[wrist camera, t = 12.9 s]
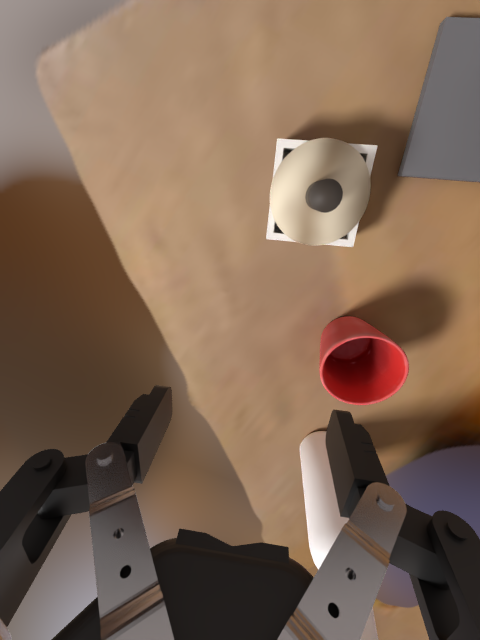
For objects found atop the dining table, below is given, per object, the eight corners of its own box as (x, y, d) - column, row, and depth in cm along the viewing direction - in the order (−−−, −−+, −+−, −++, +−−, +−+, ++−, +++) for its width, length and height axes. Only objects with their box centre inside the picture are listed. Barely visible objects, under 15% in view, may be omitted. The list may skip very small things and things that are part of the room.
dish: (363, 151, 34) (377, 145, 29) (343, 240, 38) (352, 247, 34) (276, 145, 35) (277, 138, 30) (267, 233, 39) (266, 238, 35)
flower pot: (344, 292, 41) (363, 318, 32) (397, 333, 43) (428, 369, 34) (297, 340, 45) (302, 376, 37) (347, 376, 47) (363, 418, 38)
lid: (380, 142, 29) (403, 130, 24) (355, 248, 34) (370, 258, 29) (275, 136, 30) (276, 124, 25) (265, 240, 35) (263, 248, 29)
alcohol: (290, 448, 56) (306, 692, 28) (317, 421, 52) (364, 670, 25) (326, 467, 57) (375, 719, 29) (355, 442, 53) (440, 703, 26)
